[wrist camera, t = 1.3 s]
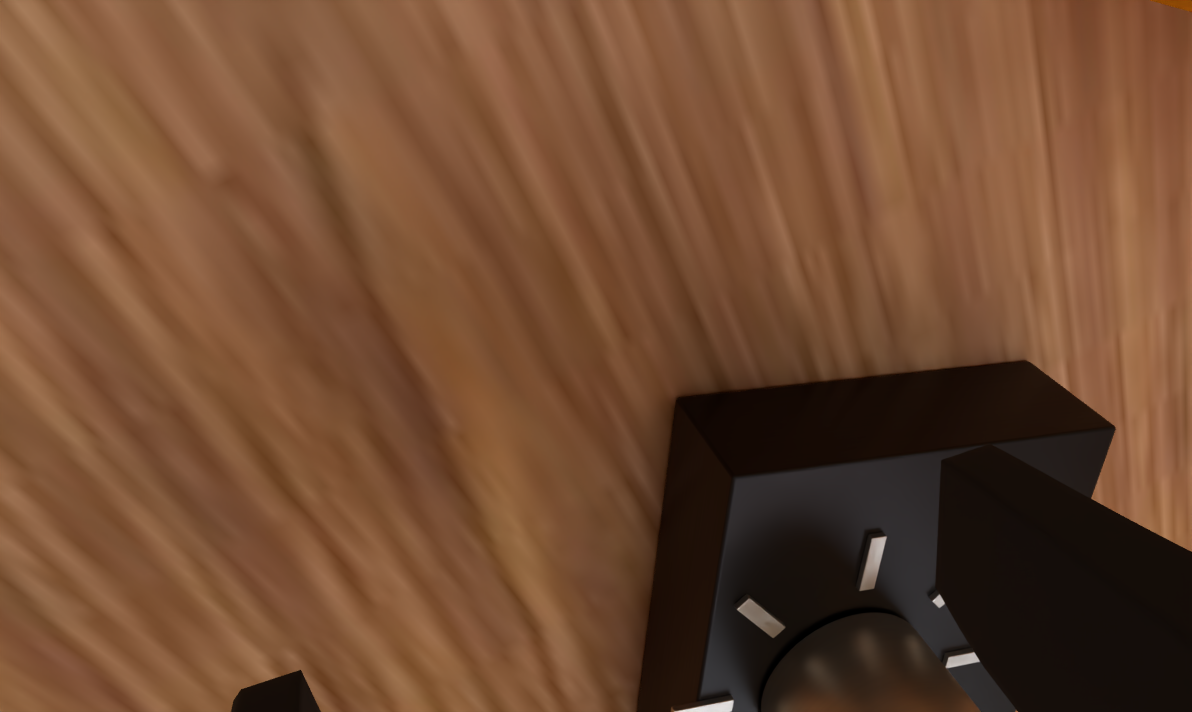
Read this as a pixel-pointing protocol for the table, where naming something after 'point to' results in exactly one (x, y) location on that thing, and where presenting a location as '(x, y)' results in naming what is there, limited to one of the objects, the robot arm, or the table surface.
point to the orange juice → (1177, 4)
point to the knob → (863, 671)
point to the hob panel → (831, 518)
